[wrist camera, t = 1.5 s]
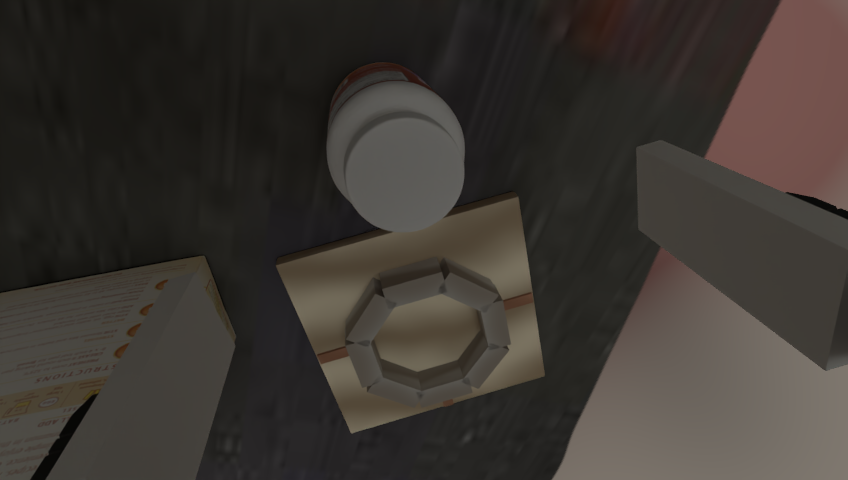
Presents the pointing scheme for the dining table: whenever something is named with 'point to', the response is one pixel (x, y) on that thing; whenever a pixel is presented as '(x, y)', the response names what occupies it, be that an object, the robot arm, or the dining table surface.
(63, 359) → the coffeecake box
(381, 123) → the pill bottle
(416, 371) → the socket
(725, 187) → the robot arm
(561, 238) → the dining table surface
